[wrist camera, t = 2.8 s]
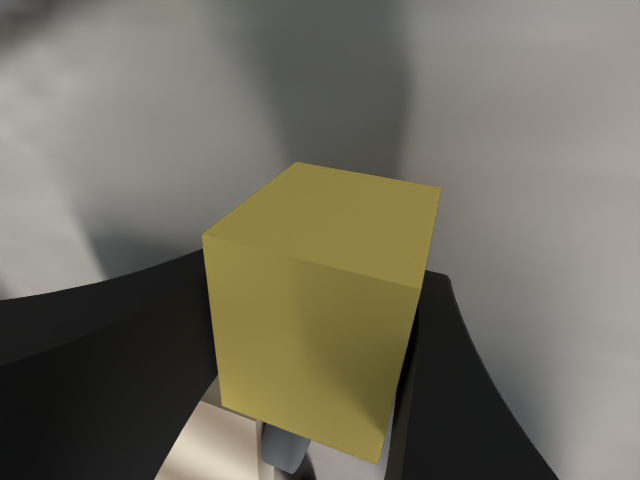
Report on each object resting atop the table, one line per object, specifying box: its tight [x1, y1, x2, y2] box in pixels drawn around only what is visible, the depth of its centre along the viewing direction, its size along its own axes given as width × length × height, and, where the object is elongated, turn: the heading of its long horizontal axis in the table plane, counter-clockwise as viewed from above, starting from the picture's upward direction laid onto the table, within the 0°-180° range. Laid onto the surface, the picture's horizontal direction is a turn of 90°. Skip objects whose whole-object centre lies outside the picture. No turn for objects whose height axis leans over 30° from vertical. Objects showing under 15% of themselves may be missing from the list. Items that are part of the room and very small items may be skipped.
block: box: [201, 162, 441, 465], centre depth 10 cm, size 5×4×4 cm
